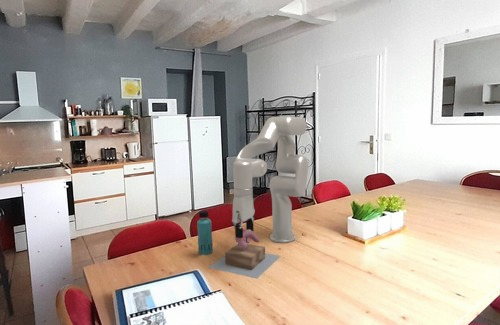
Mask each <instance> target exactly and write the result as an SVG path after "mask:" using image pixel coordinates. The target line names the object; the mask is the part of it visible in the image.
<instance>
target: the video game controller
mask: <svg viewBox="0 0 500 325" xmlns="http://www.w3.org/2000/svg"><path fill="white" fill-rule="evenodd" d="M234 240H235V242H236V243H237V244H239V246H240V247H241V248H243V249H246V244H250V243H252V241H253V242H254V243H256V244H257V243H258V244H259V242H260V239H259V236H257V234H255V232H254V231H251V230H250V229H249V230H246V229H243V238H237V237H234Z"/></svg>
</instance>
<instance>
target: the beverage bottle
mask: <svg viewBox="0 0 500 325" xmlns="http://www.w3.org/2000/svg"><path fill="white" fill-rule="evenodd" d="M198 217H199V219H198V220H197V222H196V227H197V247H198V248H197V249H198V254H199V255H202V256H208V255H211V254H212V253H213V250H214V249H213V248H214V247H213V246H214V245H213V229H212V228H213V227H212V220H211V219H210V218H208V217H210V216H209V211H208V210H203V211H202V210H201V211H199V214H198Z"/></svg>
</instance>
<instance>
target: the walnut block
mask: <svg viewBox="0 0 500 325" xmlns="http://www.w3.org/2000/svg"><path fill="white" fill-rule="evenodd" d="M265 253H266V246H263V245H262V246H261V245H257V244H256V245H255V244H250V243H246V249H243V248H241V247H240V246H239V244H238V243H237V244H235V245H234V246H232V247H231V248H230V249H228V250H227V251H225V253H224V256H225V263H226V265H230V266H235V267H239V268H244V269H248V270H253V269H254V268H255V267H256V266H257V265H258V264H259V263H261V262H262V261H263V260H264V259H265Z"/></svg>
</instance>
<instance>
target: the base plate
mask: <svg viewBox="0 0 500 325" xmlns="http://www.w3.org/2000/svg"><path fill="white" fill-rule="evenodd" d="M281 257H282V255H279V254H272V253H267V252H265V259H264V260H263V261H262V262H261V263H259V264H258V265H257V266H256V267H255V268H254V269H253V270H248V269H244V268H239V267H235V266H230V265H226V263H225V255H224V256H222V257H221V258H219V259H218V260H217V261H215V262H214V263H212V264H211V265H209V266H208V268H209V269H213V270H217V271H222V272H227V273H231V274H235V275H240V276H244V277H249V278H253V279H258V278H260V277H261V275H263V274H264V273H265V272H266V271H267V270H268V269H269V268H270V267H272V265H273V264H274V263H275V262H277V261H278V260H279V259H280V258H281Z"/></svg>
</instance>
